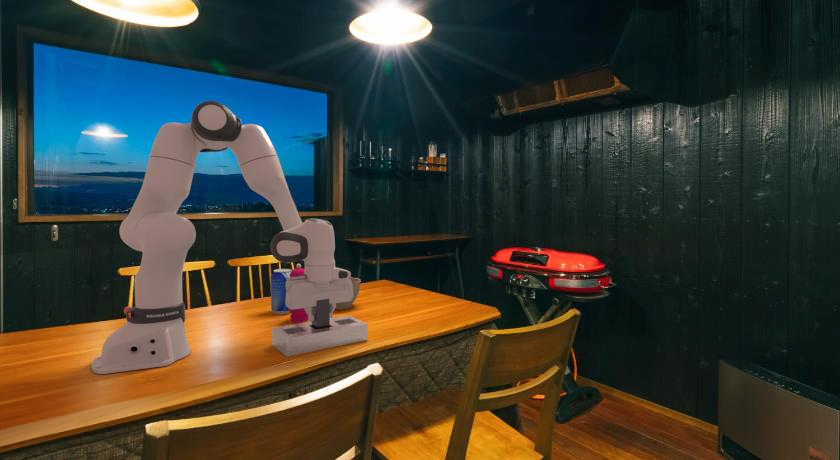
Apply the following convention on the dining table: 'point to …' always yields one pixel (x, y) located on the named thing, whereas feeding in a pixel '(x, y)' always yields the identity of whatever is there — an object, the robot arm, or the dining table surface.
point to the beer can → (279, 291)
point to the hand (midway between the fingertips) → (320, 319)
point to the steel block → (321, 314)
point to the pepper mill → (300, 314)
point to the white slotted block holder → (318, 335)
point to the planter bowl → (355, 292)
